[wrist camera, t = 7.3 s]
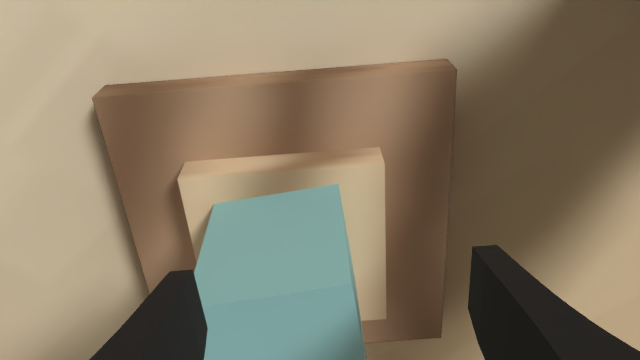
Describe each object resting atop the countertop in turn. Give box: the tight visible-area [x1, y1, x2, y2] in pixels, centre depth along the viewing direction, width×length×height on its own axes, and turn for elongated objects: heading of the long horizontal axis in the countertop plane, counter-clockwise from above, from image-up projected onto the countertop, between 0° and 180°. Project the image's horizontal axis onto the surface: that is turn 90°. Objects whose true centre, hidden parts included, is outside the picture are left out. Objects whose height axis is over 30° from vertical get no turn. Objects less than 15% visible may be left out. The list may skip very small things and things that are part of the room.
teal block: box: [194, 184, 367, 360], centre depth 19 cm, size 5×5×6 cm
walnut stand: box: [92, 59, 457, 343], centre depth 23 cm, size 14×14×3 cm
